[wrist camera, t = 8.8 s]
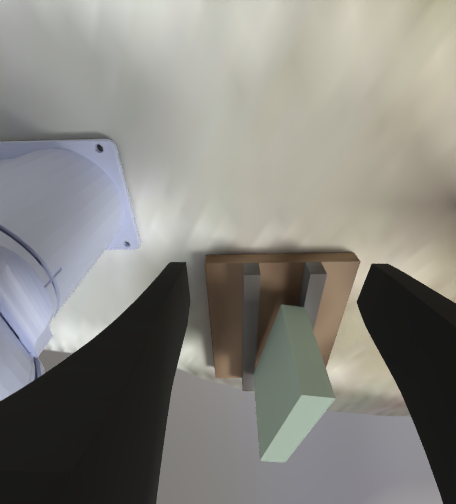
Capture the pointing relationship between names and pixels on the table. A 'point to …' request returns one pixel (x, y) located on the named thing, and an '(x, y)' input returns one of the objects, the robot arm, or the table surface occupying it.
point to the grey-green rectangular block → (289, 385)
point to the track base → (272, 302)
